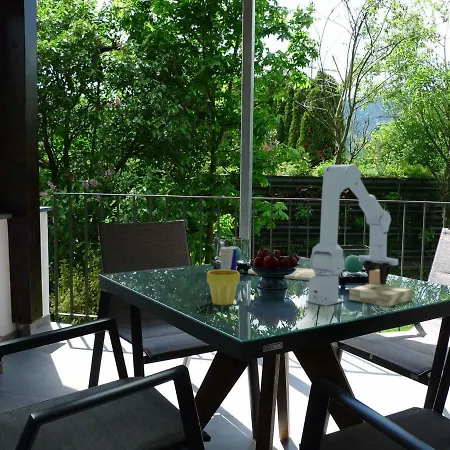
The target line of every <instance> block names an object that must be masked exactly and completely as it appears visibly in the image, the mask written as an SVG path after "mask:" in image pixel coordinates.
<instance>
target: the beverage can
mask: <svg viewBox="0 0 450 450" xmlns="http://www.w3.org/2000/svg"><path fill="white" fill-rule="evenodd" d="M237 252H238V251H237V247H234V246H222V247H220V270H234V271H237V267H238V266H237V265H238V264H237V263H238V262H237V260H238V259H237Z"/></svg>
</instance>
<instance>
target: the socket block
mask: <svg viewBox="0 0 450 450" xmlns="http://www.w3.org/2000/svg"><path fill="white" fill-rule="evenodd" d="M348 295H349V299H348V300H350V301H356V302H361V303H366V304H371V305H377V306H381V307H382V306H383V307H387V308H388V307H391V306H392V307H393V306H395V305H400V304H403V303H407V302H409V301H412V300H413V289H412V288H407V287H406V288H405V287H400V286H393V285H389V284H386V285H382V284H376V283H373V284H369V283H368V284H364V285H360V286H356V287H352V288H349V294H348Z"/></svg>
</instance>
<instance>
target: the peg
mask: <svg viewBox="0 0 450 450" xmlns="http://www.w3.org/2000/svg"><path fill="white" fill-rule="evenodd" d="M373 283H376V284H381V283H380V269H376V268H375V270H370V271H369V279H368V284H373ZM385 285H387V283H386V284H385Z"/></svg>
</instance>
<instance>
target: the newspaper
mask: <svg viewBox="0 0 450 450" xmlns="http://www.w3.org/2000/svg"><path fill="white" fill-rule="evenodd" d="M296 268H297V269H296V271H295V272H294V273H293V274H291V275H289V276H286V277H285V278H284V279H287V280H288V279H289V280H295V281H296V280H297V281H306V282H309V280H310V278H312V277H313V276H315V274H316V273H313V269H312V268H305V267H304V268H303V267H296ZM248 273H249V274H255V275H254V276H258V274H256V273H255V272H254V271H253V270H252V268H251V269H249V271H248ZM249 274H248V275H249Z"/></svg>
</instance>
